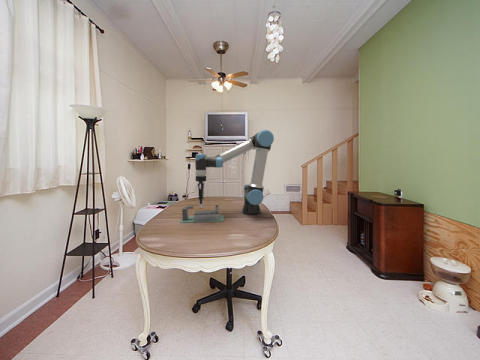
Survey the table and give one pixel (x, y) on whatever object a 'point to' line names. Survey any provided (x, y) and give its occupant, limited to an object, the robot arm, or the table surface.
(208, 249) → the table surface
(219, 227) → the table surface
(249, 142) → the robot arm
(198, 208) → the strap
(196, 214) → the heatsink
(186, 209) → the clip
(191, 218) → the board
